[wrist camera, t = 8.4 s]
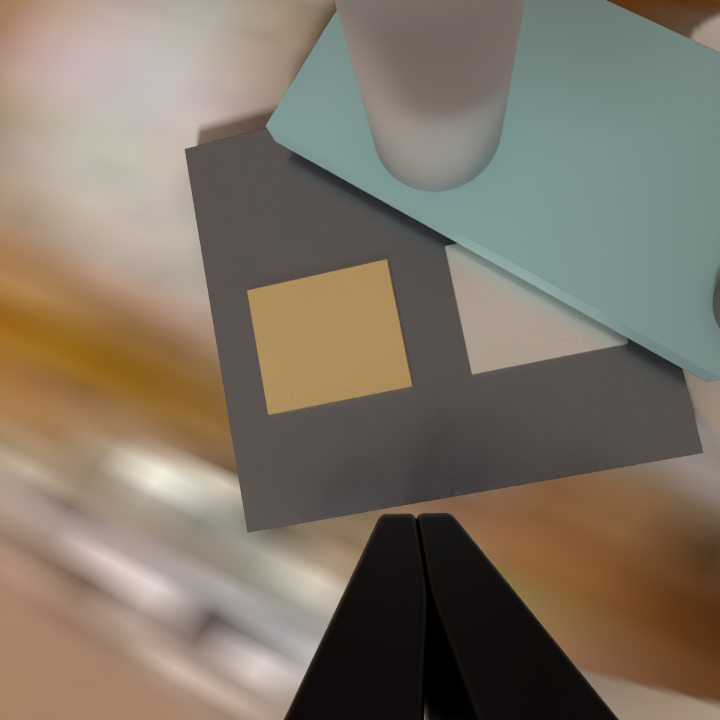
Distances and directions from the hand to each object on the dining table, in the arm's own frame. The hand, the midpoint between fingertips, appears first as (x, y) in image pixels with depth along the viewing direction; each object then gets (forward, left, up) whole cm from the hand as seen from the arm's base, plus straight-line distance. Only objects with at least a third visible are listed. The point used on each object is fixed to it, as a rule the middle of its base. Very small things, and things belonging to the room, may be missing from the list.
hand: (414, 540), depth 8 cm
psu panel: (+4, -6, -15) cm, 16 cm away
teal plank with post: (+6, -9, -14) cm, 18 cm away
